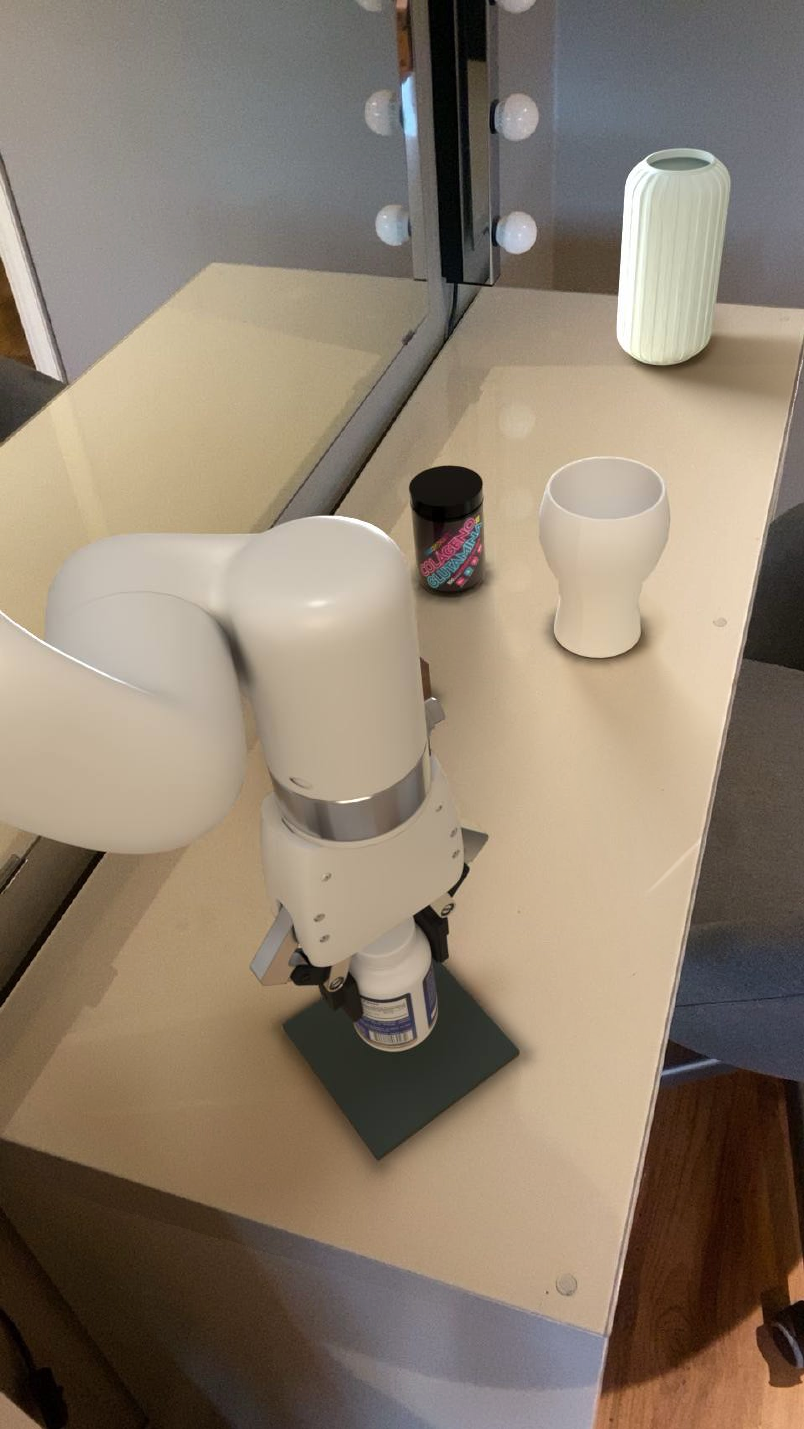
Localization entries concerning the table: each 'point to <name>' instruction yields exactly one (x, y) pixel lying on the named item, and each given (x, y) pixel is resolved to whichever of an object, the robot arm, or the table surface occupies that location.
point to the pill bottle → (396, 988)
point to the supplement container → (448, 529)
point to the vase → (671, 254)
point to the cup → (602, 549)
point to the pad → (402, 1064)
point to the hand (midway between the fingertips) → (387, 971)
